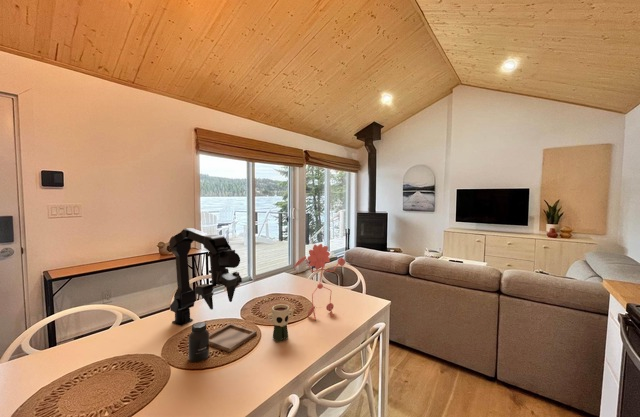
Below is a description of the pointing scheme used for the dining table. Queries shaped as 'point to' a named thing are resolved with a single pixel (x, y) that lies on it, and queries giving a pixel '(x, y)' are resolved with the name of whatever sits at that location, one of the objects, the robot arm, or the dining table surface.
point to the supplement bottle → (198, 342)
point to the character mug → (280, 321)
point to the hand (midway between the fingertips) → (221, 305)
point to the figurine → (318, 260)
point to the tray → (230, 337)
